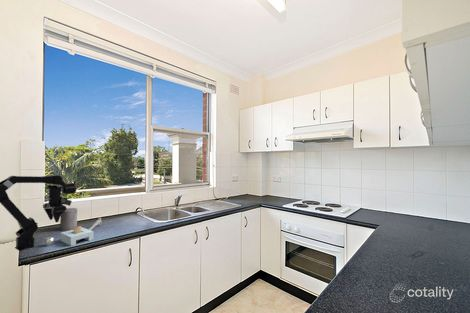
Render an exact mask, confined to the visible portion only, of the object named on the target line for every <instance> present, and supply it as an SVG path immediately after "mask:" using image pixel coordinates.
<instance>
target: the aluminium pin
mask: <svg viewBox="0 0 470 313" xmlns="http://www.w3.org/2000/svg"><path fill="white" fill-rule="evenodd" d="M54 245H55V237H54V236H48V237H45V238H44V247H51V246H54Z"/></svg>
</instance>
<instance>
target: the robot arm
mask: <svg viewBox="0 0 470 313" xmlns="http://www.w3.org/2000/svg"><path fill="white" fill-rule="evenodd" d="M16 184H47V185H46V186H44V189H46V190H48V197H47V200H48V202H45V203H43V205H42V208H43V210H44V212H45V213H46V215H47V217H48V218H49V220H50V221H51V220H53V219H54V221H55V223H59V221H60V217H61V213H63V212H64V211H65V210H66V208H67V206H71V204H72V202H73V201H72V200H70V199H68V198H67V197H63V196H62V195H72V194H76V192H77V187H76V183H75V182H70V183H66V182H65V181H64V180H63V177H62V176H61V175H59V174H58V175H57V174H51V175H50V174H49V175H43V176H42V175H41V176H36V175H35V176H34V175H33V176H32V175H31V176H27V175H26V176H25V175H19V176H18V175H10V176H8V177H7V178H5V179H4V180H1V181H0V204H1V206H3V208H4V209H5V210H6V211H7V212H8V213H9V214H10V215H11V216H12V217H13V219H15V221H17V224H18V226H19V229H18V230H17V231H16V232H15V234H16V235H15V236H17V237H16V239H15V247H14V249H15V250H17V251H23V250H26V249H30V248H33V247H35V246H34V245H35V237H34V235H35V233H36V232H37V231H38V229H39V225H38V222H36V221H35V219H34V218H33V217H29V218H27V216H26V215H25V214H24V213H23V212H22V211H21V210H20V209H19V208H18V206H16V204H14V202H13V201H12V200H11V199H10V197H9V195H8V193H7V190H9V189H10V188H11V187H12V186H14V185H16ZM65 205H66V206H65Z"/></svg>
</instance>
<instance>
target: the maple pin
mask: <svg viewBox="0 0 470 313" xmlns="http://www.w3.org/2000/svg"><path fill="white" fill-rule="evenodd" d="M82 228H83V227H82V226H78V225H77V227H74V229H72V230H73V234H77V233H81V230H82ZM81 240H82V239H79V240H76V242H80V241H81Z"/></svg>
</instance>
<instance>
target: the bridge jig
mask: <svg viewBox="0 0 470 313" xmlns="http://www.w3.org/2000/svg"><path fill="white" fill-rule="evenodd" d="M88 229H89V228H85V227H82V230H81V233H77V234H73V230H74V229H72V230H66V231H63V232H60V242H62V243H64V244H66V245H68V246H70V247H72V246H76V245H77V241H76V240H79V239H81V240H82V239H84V240H86V241H88V240H89V241H90V242H91V241H92V240H94V235H95V234H94V232H95V231H93V230H88ZM89 241H88V242H89Z"/></svg>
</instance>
